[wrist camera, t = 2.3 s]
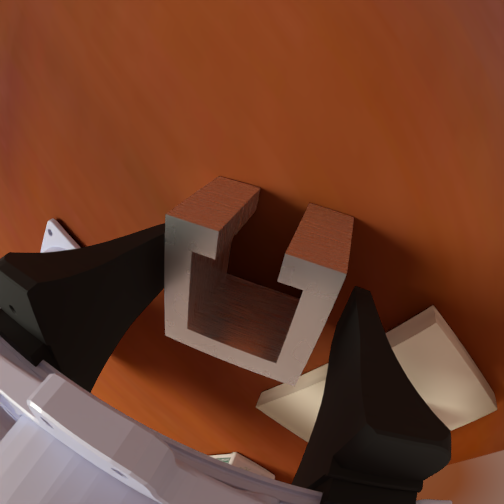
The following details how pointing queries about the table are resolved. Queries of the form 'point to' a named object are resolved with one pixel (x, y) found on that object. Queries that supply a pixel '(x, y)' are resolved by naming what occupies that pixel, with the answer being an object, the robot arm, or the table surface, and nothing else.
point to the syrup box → (243, 463)
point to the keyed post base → (415, 367)
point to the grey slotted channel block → (245, 292)
